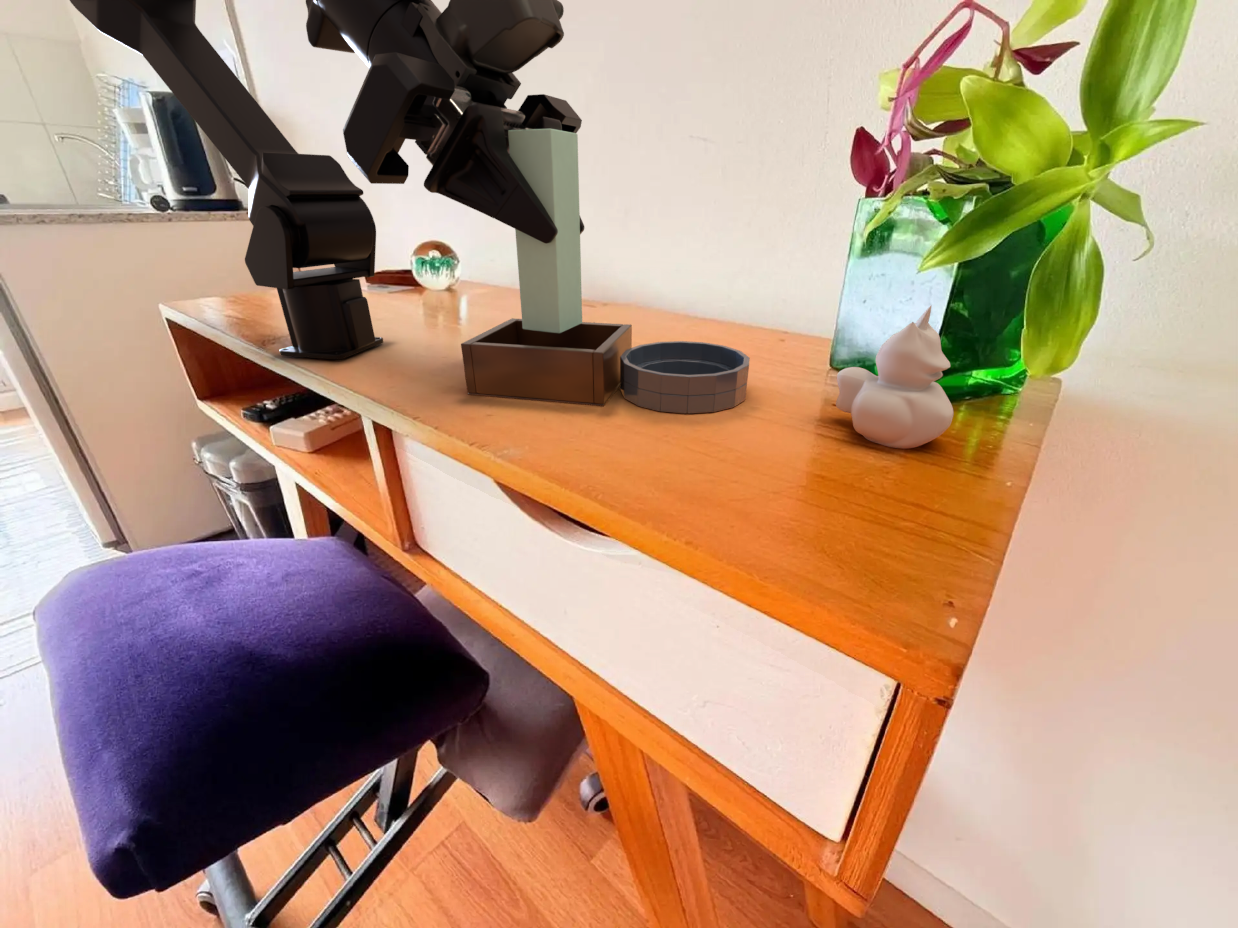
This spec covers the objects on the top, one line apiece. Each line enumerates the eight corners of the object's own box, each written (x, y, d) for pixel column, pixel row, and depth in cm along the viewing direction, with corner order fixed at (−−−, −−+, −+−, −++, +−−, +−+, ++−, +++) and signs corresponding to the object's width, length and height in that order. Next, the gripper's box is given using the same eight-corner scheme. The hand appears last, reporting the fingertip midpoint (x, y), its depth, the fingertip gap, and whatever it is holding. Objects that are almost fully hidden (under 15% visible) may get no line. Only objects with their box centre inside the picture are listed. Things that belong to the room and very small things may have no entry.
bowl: (607, 414, 36) (606, 370, 35) (635, 375, 44) (636, 338, 43) (742, 426, 34) (747, 380, 33) (747, 383, 42) (751, 344, 41)
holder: (468, 401, 39) (460, 343, 37) (515, 367, 46) (511, 318, 44) (604, 413, 37) (603, 352, 35) (631, 375, 44) (631, 324, 42)
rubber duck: (919, 473, 29) (962, 319, 25) (806, 435, 33) (829, 300, 29) (957, 444, 32) (1000, 304, 28) (850, 413, 36) (875, 289, 33)
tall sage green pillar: (522, 329, 38) (507, 130, 33) (547, 319, 41) (537, 135, 36) (560, 333, 37) (550, 128, 32) (582, 323, 40) (578, 133, 35)
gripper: (331, -189, 23) (578, 115, 24) (552, -36, 38) (695, 144, 39) (256, 59, 29) (454, 289, 30) (471, 104, 44) (597, 255, 45)
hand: (566, 236), depth 36 cm, fingers closed on tall sage green pillar, 3 cm apart
